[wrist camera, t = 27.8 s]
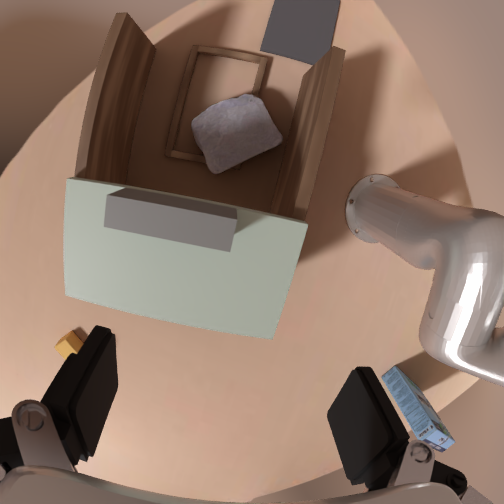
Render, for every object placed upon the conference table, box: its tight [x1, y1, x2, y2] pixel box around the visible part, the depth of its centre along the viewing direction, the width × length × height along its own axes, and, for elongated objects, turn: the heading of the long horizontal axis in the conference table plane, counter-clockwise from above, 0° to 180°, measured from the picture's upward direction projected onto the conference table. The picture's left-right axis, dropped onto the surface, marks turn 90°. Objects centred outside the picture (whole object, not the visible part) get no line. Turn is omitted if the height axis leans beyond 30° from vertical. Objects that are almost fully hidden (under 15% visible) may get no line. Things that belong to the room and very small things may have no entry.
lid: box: [64, 177, 308, 340], centre depth 29 cm, size 28×15×6 cm, turn 77°
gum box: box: [382, 366, 455, 452], centre depth 54 cm, size 20×5×23 cm, turn 46°
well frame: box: [75, 13, 346, 221], centre depth 36 cm, size 28×37×15 cm
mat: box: [260, 0, 340, 65], centre depth 36 cm, size 11×16×1 cm
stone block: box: [191, 94, 283, 174], centre depth 40 cm, size 12×5×10 cm
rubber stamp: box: [55, 331, 84, 360], centre depth 49 cm, size 10×6×12 cm, turn 31°
